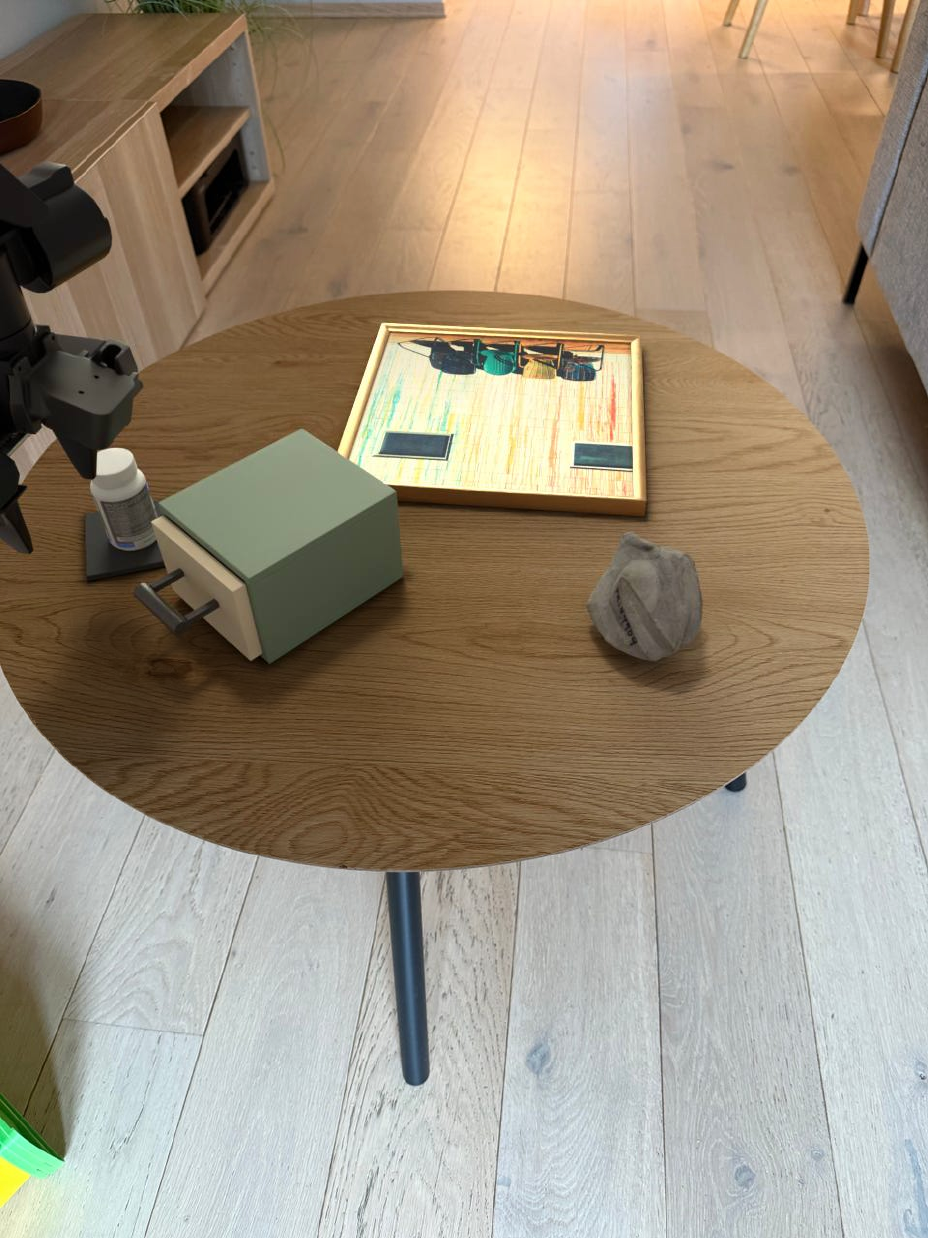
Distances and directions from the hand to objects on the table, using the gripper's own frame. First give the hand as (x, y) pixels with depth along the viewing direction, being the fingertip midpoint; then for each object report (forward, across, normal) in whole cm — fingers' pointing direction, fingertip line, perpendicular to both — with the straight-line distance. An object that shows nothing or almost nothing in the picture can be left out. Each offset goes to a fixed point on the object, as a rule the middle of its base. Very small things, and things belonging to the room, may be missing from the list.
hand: (59, 513), depth 72 cm
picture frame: (+11, +37, -27) cm, 47 cm away
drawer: (+11, +5, -12) cm, 17 cm away
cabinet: (+11, +8, -14) cm, 20 cm away
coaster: (+11, +10, +2) cm, 15 cm away
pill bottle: (+11, +10, +2) cm, 15 cm away
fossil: (+12, +9, -45) cm, 47 cm away
